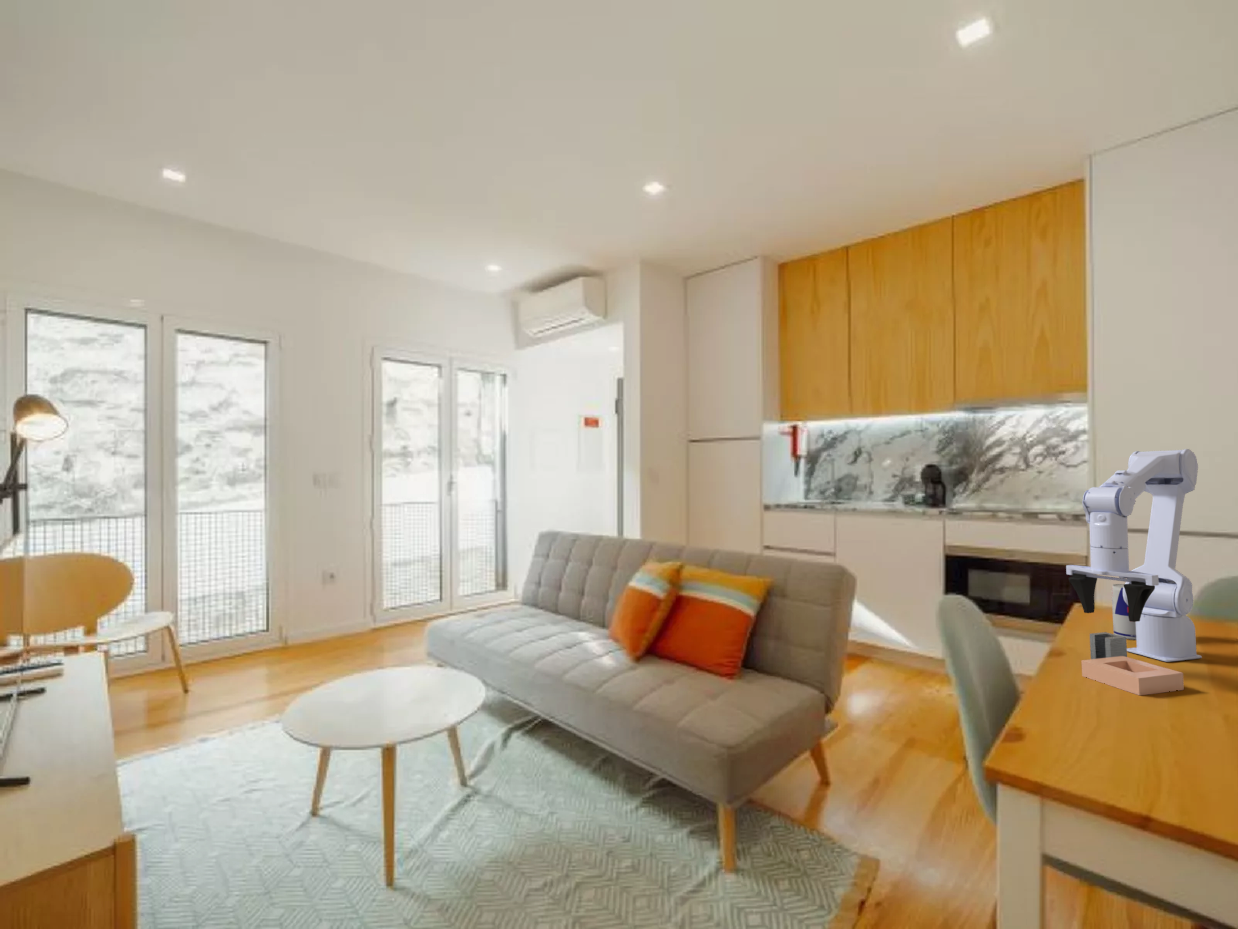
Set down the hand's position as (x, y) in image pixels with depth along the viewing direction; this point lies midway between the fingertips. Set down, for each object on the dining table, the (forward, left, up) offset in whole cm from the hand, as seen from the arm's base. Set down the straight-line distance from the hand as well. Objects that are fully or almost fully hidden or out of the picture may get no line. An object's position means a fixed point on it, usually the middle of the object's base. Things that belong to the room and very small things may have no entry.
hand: (1111, 616), depth 111 cm
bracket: (-3, -3, -11) cm, 12 cm away
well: (+3, +5, -11) cm, 12 cm away
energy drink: (-27, -17, -11) cm, 34 cm away
